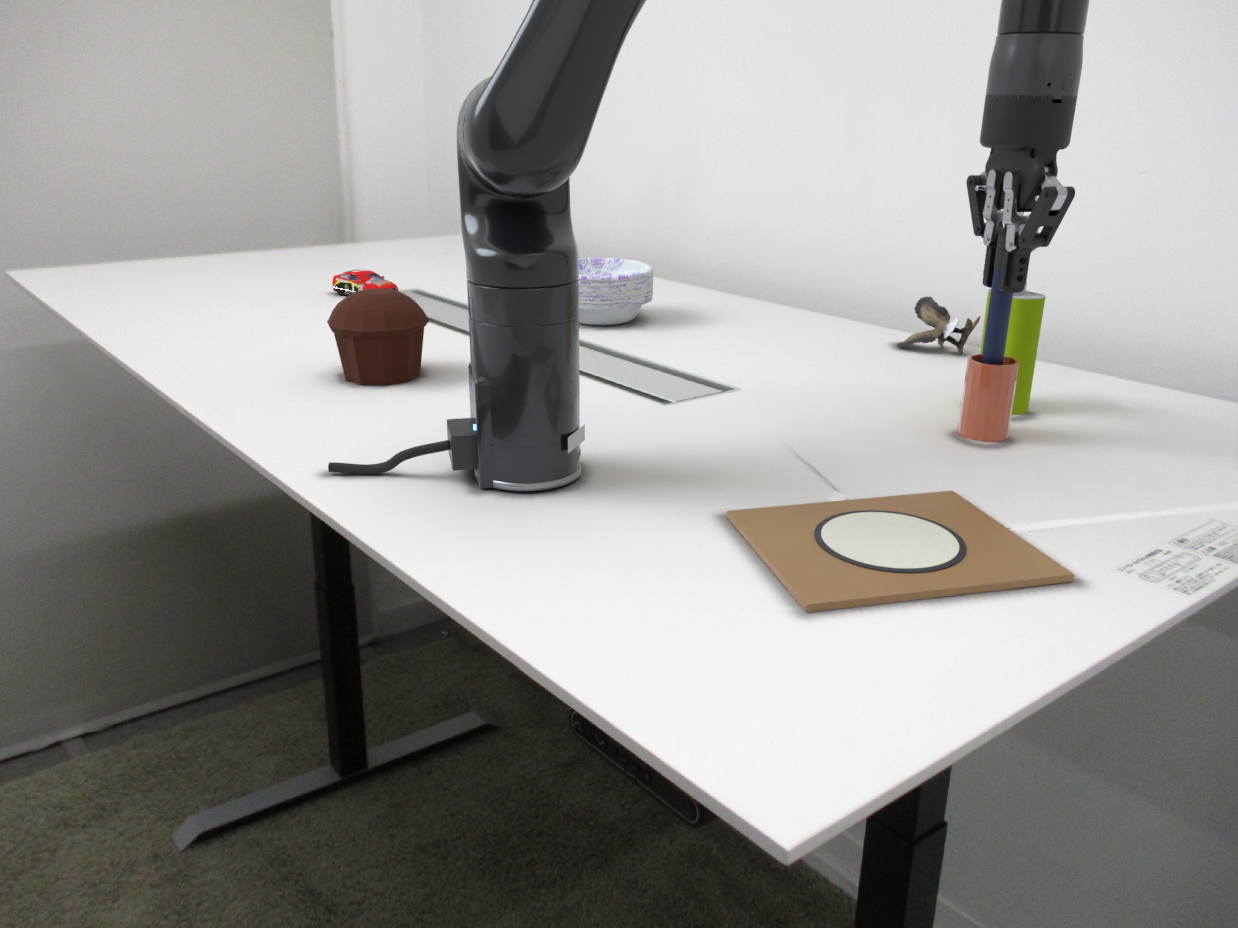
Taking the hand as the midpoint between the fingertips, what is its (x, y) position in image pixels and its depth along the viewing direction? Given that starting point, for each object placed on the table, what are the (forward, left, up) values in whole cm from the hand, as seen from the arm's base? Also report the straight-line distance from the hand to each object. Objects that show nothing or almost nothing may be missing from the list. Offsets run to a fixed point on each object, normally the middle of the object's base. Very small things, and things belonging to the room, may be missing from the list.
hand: (1002, 288), depth 94 cm
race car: (-59, +86, -15) cm, 105 cm away
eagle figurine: (+14, +34, -15) cm, 40 cm away
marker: (0, 0, -8) cm, 8 cm away
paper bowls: (-25, +61, -15) cm, 68 cm away
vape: (+7, +8, -15) cm, 18 cm away
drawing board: (-21, -21, -15) cm, 33 cm away
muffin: (-57, +36, -15) cm, 69 cm away
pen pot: (0, 0, -15) cm, 15 cm away
